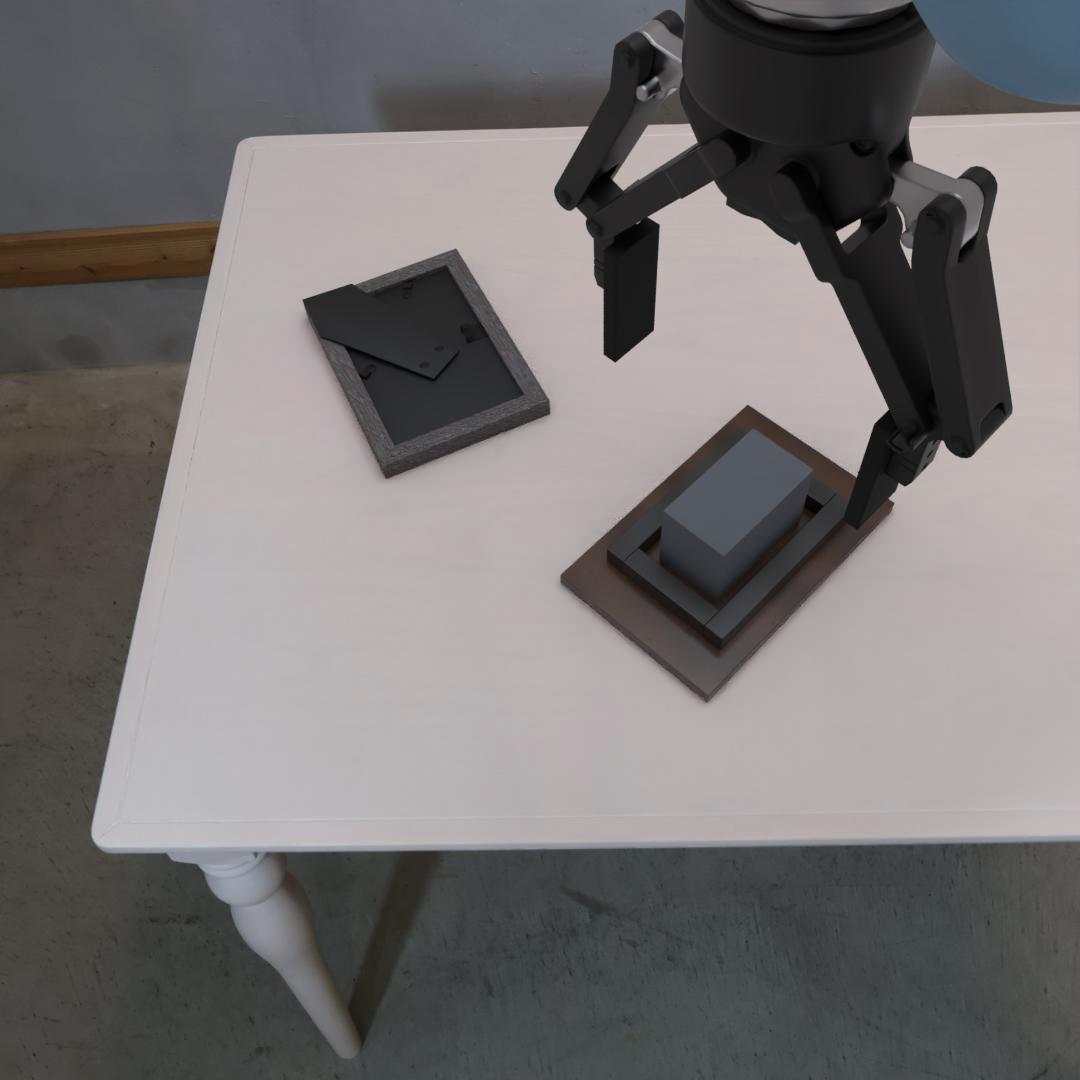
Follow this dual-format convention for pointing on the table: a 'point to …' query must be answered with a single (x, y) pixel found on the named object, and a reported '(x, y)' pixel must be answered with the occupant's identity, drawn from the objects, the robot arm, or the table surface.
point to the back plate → (752, 603)
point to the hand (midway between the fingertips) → (742, 420)
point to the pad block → (734, 514)
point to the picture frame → (424, 361)
